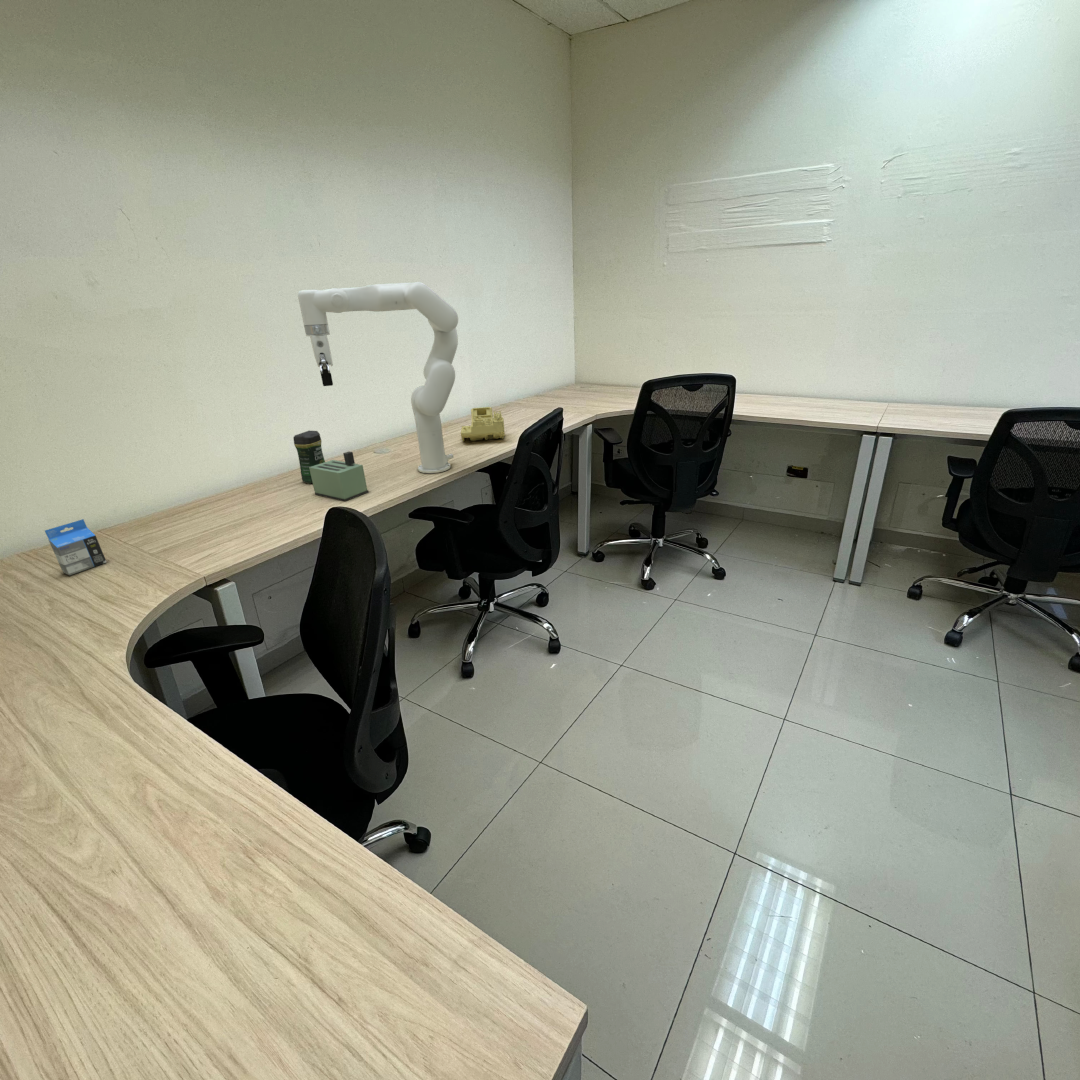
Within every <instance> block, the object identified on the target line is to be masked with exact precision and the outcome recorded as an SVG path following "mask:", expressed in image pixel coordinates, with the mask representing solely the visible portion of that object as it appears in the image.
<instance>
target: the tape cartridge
mask: <svg viewBox="0 0 1080 1080" xmlns="http://www.w3.org/2000/svg"><path fill="white" fill-rule="evenodd" d="M70 528H72V529H70ZM65 529H69V530H65ZM64 530H65V531H64ZM61 531H62V532H61ZM44 533H45V535H46V537H47V539H48V543H49V545H50V547H51V549H52V551H53V553H54V555H55V559H56V561H57V563H58V564H59V565H58V566H59V567H60V569H61V571H62V573H63V574H64V575H67V576H72V575H75V574H78V573H80V572H84V571H87V570H90V569H92V568H95V567H97V566H100V565H103V564H107V560H106V557H105V554H104V552H103V550H102V548H101V545H100V543H99V540H98V537H97V535H96V534H95V533H94V532H92V530H91V529H90V528H89V527H88V526H87V524H86V522H85V519H83V518H82V519H78V520H76V521H72V522H69V523H65V524H62V525H59V526H56V527H51V528H49V529H45V530H44Z"/></svg>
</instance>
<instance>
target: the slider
mask: <svg viewBox="0 0 1080 1080" xmlns="http://www.w3.org/2000/svg"><path fill="white" fill-rule="evenodd" d="M342 454H343V458H344V462H345V464H346V465H351V464H356V463H355V457H354V452H353V451H345V452H343V453H342Z"/></svg>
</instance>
